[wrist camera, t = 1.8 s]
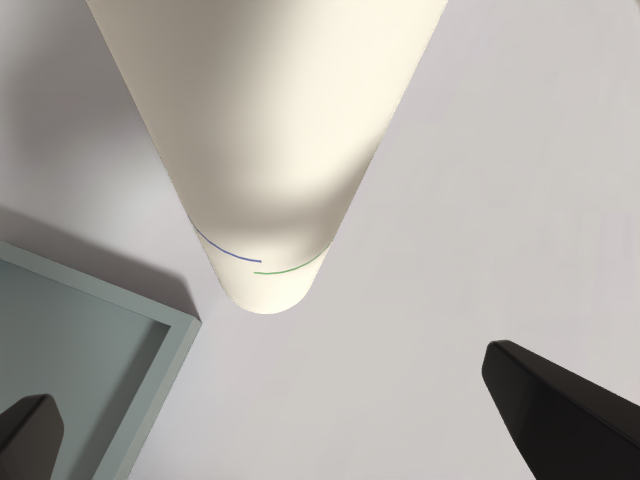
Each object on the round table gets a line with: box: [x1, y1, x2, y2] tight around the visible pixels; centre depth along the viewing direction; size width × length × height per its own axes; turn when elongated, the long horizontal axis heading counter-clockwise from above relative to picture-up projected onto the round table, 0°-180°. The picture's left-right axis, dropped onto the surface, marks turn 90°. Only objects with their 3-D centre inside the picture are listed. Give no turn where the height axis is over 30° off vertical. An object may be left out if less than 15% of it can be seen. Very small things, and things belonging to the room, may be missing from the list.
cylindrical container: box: [86, 0, 448, 314], centre depth 16 cm, size 7×7×25 cm
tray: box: [0, 240, 202, 480], centre depth 21 cm, size 15×15×3 cm
